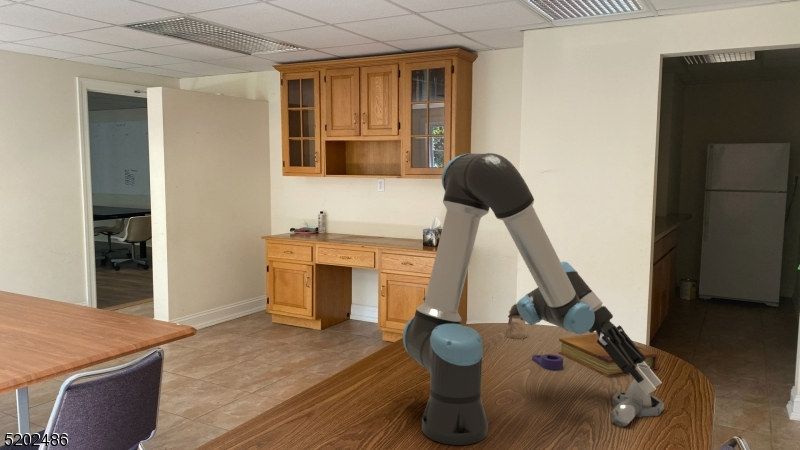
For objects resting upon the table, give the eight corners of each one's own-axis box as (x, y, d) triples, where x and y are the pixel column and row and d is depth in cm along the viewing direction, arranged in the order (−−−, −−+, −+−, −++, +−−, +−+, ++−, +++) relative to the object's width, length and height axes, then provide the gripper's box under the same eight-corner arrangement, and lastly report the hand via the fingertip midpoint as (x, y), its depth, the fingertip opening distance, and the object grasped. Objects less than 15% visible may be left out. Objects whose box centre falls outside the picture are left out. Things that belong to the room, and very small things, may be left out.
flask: (646, 399, 151) (653, 362, 150) (656, 411, 144) (663, 372, 142) (618, 395, 151) (624, 358, 150) (626, 407, 144) (633, 368, 143)
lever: (567, 369, 174) (567, 359, 174) (550, 372, 172) (550, 362, 172) (542, 357, 185) (543, 348, 185) (526, 359, 183) (526, 350, 183)
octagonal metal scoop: (644, 433, 132) (646, 414, 132) (595, 419, 139) (596, 401, 139) (667, 405, 148) (668, 388, 148) (621, 394, 155) (622, 378, 155)
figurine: (514, 332, 212) (515, 300, 211) (530, 336, 207) (531, 303, 206) (502, 335, 208) (503, 303, 207) (517, 340, 202) (519, 306, 201)
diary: (656, 371, 175) (658, 353, 174) (608, 379, 168) (609, 360, 167) (603, 348, 196) (604, 332, 195) (558, 354, 189) (559, 337, 188)
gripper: (593, 314, 162) (652, 386, 153) (569, 328, 148) (632, 407, 139) (613, 299, 158) (675, 371, 149) (590, 311, 144) (657, 391, 136)
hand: (654, 388), depth 144 cm, fingers open, 4 cm apart
